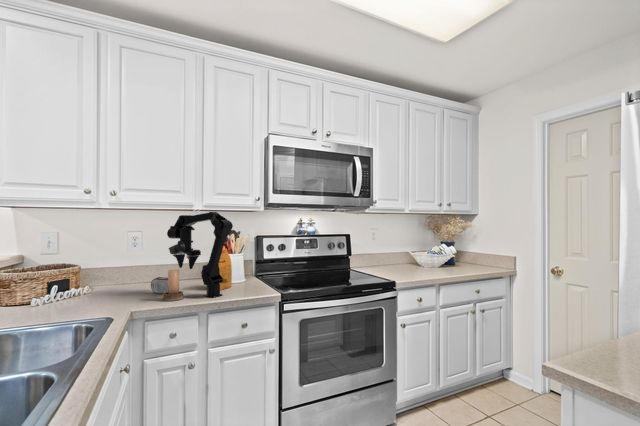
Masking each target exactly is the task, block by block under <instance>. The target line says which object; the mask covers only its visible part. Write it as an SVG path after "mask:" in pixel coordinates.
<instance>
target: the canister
mask: <svg viewBox="0 0 640 426" xmlns="http://www.w3.org/2000/svg"><path fill="white" fill-rule="evenodd" d="M167 278H168V295H173V294H179V291H180V269H168V271H167Z"/></svg>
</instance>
